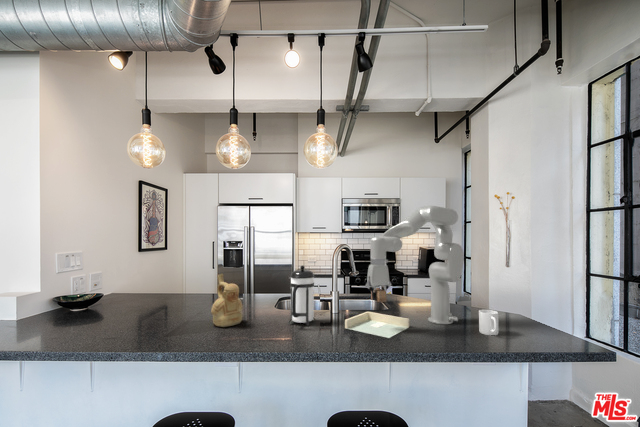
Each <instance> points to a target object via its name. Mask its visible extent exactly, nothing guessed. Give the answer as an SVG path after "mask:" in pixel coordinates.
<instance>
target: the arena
mask: <svg viewBox="0 0 640 427" xmlns="http://www.w3.org/2000/svg"><path fill="white" fill-rule="evenodd" d="M408 328H410V318H407V317H401V316H395V315H391V314H389V315H388V314H384V313H378V312H374V311H365V312H362V313H359V314H356V315H354V316H352V317H349V318H346V319H344V329H347V330H353V331H355V332H360V333H363V334H369V335H370V334H371V335H373V336H378V337H383V338H387V339H390V338H392V337H393V336H395V335H397V334H399V333H401V332H403V331H405V330H407V329H408Z"/></svg>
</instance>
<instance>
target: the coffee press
mask: <svg viewBox="0 0 640 427" xmlns="http://www.w3.org/2000/svg"><path fill="white" fill-rule="evenodd" d="M314 279H315V274H314V272H313V271H311V270H308V269H306V268H305V266H304V265H300V269H298V270H294V271H292V272H291V273H290V319H289V321H288V325H290V326H291V325H293V324H294V323H300V324H301V323H303V324H305V326H306V327H309V326H310V322H316V318H315V317H314V313H315V312H314V309H315V306H314V301H315V300H314V299H315V298H314V297H315V296H314V293H315V290H314V289H315V287H314V286H315V280H314Z"/></svg>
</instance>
